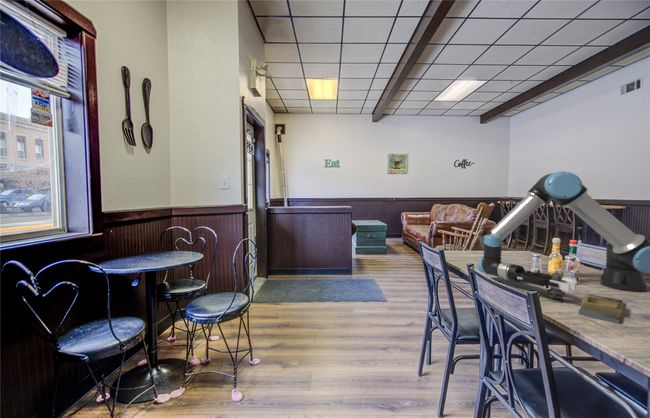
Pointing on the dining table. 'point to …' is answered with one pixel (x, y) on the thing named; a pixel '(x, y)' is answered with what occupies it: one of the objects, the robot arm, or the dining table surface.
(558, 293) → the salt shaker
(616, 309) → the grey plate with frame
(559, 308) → the dining table surface
